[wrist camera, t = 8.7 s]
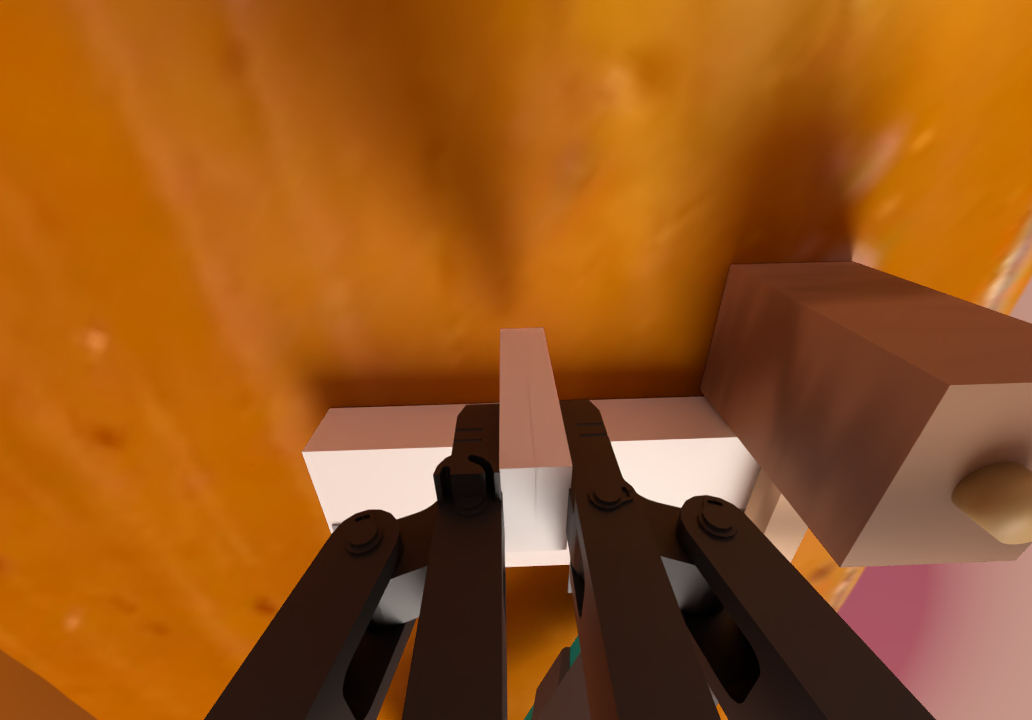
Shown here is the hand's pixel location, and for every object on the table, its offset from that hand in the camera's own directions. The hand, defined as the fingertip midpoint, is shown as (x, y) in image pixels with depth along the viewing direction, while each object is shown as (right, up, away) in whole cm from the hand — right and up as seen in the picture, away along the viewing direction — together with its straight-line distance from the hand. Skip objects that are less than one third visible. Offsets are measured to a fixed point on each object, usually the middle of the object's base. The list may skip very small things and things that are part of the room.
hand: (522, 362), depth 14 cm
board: (+2, -5, +7) cm, 9 cm away
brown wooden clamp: (+11, -3, +6) cm, 13 cm away
